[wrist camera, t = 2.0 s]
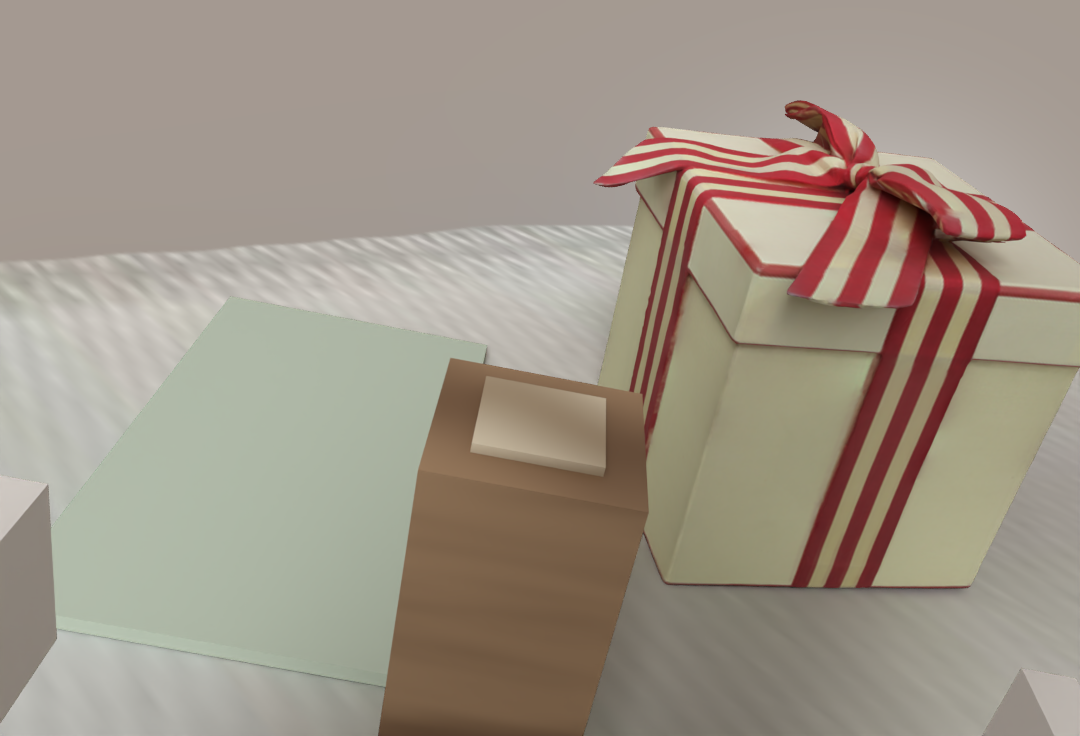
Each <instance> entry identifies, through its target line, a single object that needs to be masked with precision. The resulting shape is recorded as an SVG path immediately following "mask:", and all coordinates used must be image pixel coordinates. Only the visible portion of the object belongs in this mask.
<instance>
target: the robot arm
mask: <svg viewBox="0 0 1080 736" xmlns="http://www.w3.org/2000/svg"><path fill="white" fill-rule="evenodd" d="M56 640H57V630H56V612H55V595H54V577H53V559H52V542H51V524H50V507H49V489H48V484H45V483H40V482H35V481H30V480H24V479H19V478H14V477H8V476H3V475H0V723H1V722H2V720H3V719H4V717H5V716H6V714H7V713H8V711H9V710H10V708H11V707H12V705H13V704H14V702H15V701H16V699H17V698H18V696H19V695H20V693H21V692H22V690H23V689H24V687H25V686H26V684H27V683H28V681H29V680H30V678H31V677H32V675H33V674H34V672H35V671H36V669H37V668H38V666H39V665H40V663H41V662H42V660H43V659H44V657H45V656H46V654H47V653H48V651H49V650H50V648H51V647H52V645H53V644H54V642H55V641H56ZM982 736H1080V685H1079V683H1078V681H1077V679H1076V678H1072V677H1067V676H1062V675H1057V674H1051V673H1046V672H1041V671H1035V670H1030V669H1025V668H1021V670H1020V671H1019V673H1018V675H1017V676H1016V678H1015V680H1014V682H1013V683H1012V685H1011V687H1010V688H1009V690H1008V692H1007V694H1006V695H1005V697H1004V699H1003V700H1002V702H1001V704H1000V706H999V707H998V709H997V711H996V712H995V714H994V716H993V718H992V719H991V721H990V723H989V724H988V726H987V728H986V730H985V731H984V733H983V735H982Z"/></svg>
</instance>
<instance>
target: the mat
mask: <svg viewBox="0 0 1080 736" xmlns="http://www.w3.org/2000/svg"><path fill="white" fill-rule="evenodd" d="M486 349H487V345H483V344H478V343H473V342H468V341H462V340H457V339H452V338H447V337H441V336H436V335H431V334H426V333H420V332H415V331H410V330H405V329H399V328H394V327H389V326H384V325H378V324H373V323H368V322H363V321H357V320H352V319H347V318H342V317H336V316H331V315H326V314H321V313H315V312H310V311H305V310H300V309H294V308H289V307H284V306H279V305H273V304H268V303H263V302H258V301H252V300H247V299H242V298H237V297H231V296H230V297H229V299H228V300H227V301H226V303H225V304H224V305H223V306H222V308H221V309H220V310H219V312H218V313H217V314H216V315H215V317H214V318H213V319H212V321H211V322H210V323H209V324H208V326H207V327H206V328H205V330H204V331H203V332H202V333H201V335H200V336H199V337H198V339H197V340H196V341H195V343H194V344H193V345H192V346H191V348H190V349H189V350H188V352H187V353H186V354H185V355H184V357H183V358H182V359H181V361H180V362H179V363H178V364H177V366H176V367H175V368H174V370H173V371H172V372H171V373H170V375H169V376H168V377H167V379H166V380H165V381H164V382H163V384H162V385H161V386H160V388H159V389H158V390H157V392H156V393H155V394H154V395H153V397H152V398H151V399H150V401H149V402H148V403H147V404H146V406H145V407H144V408H143V410H142V411H141V412H140V413H139V415H138V416H137V417H136V419H135V420H134V421H133V422H132V424H131V425H130V426H129V428H128V429H127V430H126V431H125V433H124V434H123V435H122V437H121V438H120V439H119V441H118V442H117V443H116V444H115V446H114V447H113V448H112V450H111V451H110V452H109V453H108V455H107V456H106V457H105V459H104V460H103V461H102V462H101V464H100V465H99V466H98V468H97V469H96V470H95V471H94V473H93V474H92V475H91V477H90V478H89V479H88V480H87V482H86V483H85V484H84V486H83V487H82V488H81V490H80V491H79V492H78V493H77V495H76V496H75V497H74V499H73V500H72V501H71V502H70V504H69V505H68V506H67V508H66V509H65V510H64V511H63V513H62V514H61V515H60V517H59V518H58V519H57V520H56V522H55V523H54V524H53V526H52V527H51V542H52V559H53V577H54V595H55V612H56V629H61V630H67V631H73V632H78V633H84V634H89V635H95V636H101V637H106V638H112V639H118V640H123V641H129V642H134V643H140V644H146V645H151V646H157V647H163V648H168V649H174V650H180V651H185V652H191V653H196V654H202V655H208V656H213V657H219V658H225V659H230V660H236V661H241V662H247V663H253V664H258V665H264V666H270V667H275V668H281V669H287V670H292V671H298V672H303V673H309V674H315V675H320V676H326V677H332V678H337V679H343V680H348V681H354V682H360V683H365V684H371V685H377V686H382V687H386V680H387V673H388V667H389V660H390V653H391V647H392V640H393V633H394V627H395V620H396V613H397V607H398V600H399V593H400V587H401V580H402V573H403V567H404V560H405V553H406V547H407V540H408V533H409V527H410V520H411V513H412V507H413V500H414V493H415V486H416V480H417V473H418V468H419V465H420V461H421V458H422V454H423V451H424V447H425V444H426V440H427V437H428V434H429V430H430V427H431V423H432V420H433V416H434V413H435V409H436V406H437V402H438V399H439V396H440V392H441V389H442V385H443V382H444V378H445V375H446V371H447V368H448V364H449V361H450V358H455V359H460V360H465V361H471V362H476V363H481V364H483V363H484V359H485V354H486Z"/></svg>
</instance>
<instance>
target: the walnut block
mask: <svg viewBox="0 0 1080 736" xmlns="http://www.w3.org/2000/svg"><path fill="white" fill-rule="evenodd" d="M648 514H649V506H648V488H647V470H646V452H645V433H644V415H643V397H642V394H640V393H635V392H629V391H624V390H619V389H613V388H608V387H603V386H598V385H592V384H587V383H582V382H576V381H571V380H566V379H561V378H555V377H550V376H545V375H539V374H534V373H529V372H524V371H518V370H513V369H508V368H502V367H497V366H492V365H487V364H481V363H476V362H471V361H465V360H460V359H455V358H450V361H449V364H448V368H447V371H446V375H445V378H444V382H443V385H442V389H441V392H440V396H439V399H438V402H437V406H436V409H435V413H434V416H433V420H432V423H431V427H430V430H429V434H428V437H427V440H426V444H425V447H424V451H423V454H422V458H421V461H420V465H419V468H418V473H417V480H416V486H415V493H414V500H413V507H412V513H411V520H410V527H409V533H408V540H407V547H406V553H405V560H404V567H403V573H402V580H401V587H400V593H399V600H398V607H397V613H396V620H395V627H394V633H393V640H392V647H391V653H390V660H389V667H388V673H387V680H386V687H385V693H384V700H383V707H382V713H381V720H380V727H379V733H378V736H583V734H584V731H585V727H586V724H587V721H588V717H589V714H590V710H591V707H592V704H593V700H594V697H595V693H596V690H597V687H598V683H599V680H600V676H601V673H602V670H603V666H604V663H605V660H606V656H607V653H608V649H609V646H610V643H611V639H612V636H613V632H614V629H615V626H616V622H617V619H618V615H619V612H620V609H621V605H622V602H623V598H624V595H625V592H626V588H627V585H628V582H629V578H630V575H631V571H632V568H633V565H634V561H635V558H636V554H637V551H638V548H639V544H640V541H641V537H642V534H643V531H644V527H645V524H646V520H647V517H648Z"/></svg>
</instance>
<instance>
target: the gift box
mask: <svg viewBox="0 0 1080 736" xmlns="http://www.w3.org/2000/svg"><path fill="white" fill-rule="evenodd" d="M785 111H786V113H788V114H785V115H786V116H787V117H789V118H790V119H796V120H798V121H799V122H801V123H802V124H804V125H806V126H807V127H809V128H811V129H812V130H814V131H816V132H818V135H817V137H816V139H815V140H814V142H810V141H806V140H802V139H797V138H792V139H790V138H789V139H770V138H754V137H744V136H734V135H726V134H717V133H708V132H699V131H690V130H681V129H673V128H665V127H651V128H649V130H648V133H647V137H646V140H644V141H642V142H641V143H639V144H638V145H637V146H635V147H634V148H632V149H631V150H629V151H628V152H627V153H626V154H625V155H624V156H623V157H622V158H621V159H620V160H619V161H618V162H617V163H615V165H614V166H613V167H612V168H610V169H609V170H608V171H607V173H605V174H604V175H603V176H601V177H600V178H598V179H597V180H596V181H594V184H596V185H597V184H598V185H599V186H604V187H617V186H622V185H625V184H627V183H630V182H633V181H636V184H635V187H636V191H637V192H638V194H639V195H640V201H639V206H638V210H637V214H636V219H635V223H634V227H633V232H632V236H631V241H630V245H629V249H628V254H627V258H626V262H625V267H624V271H623V276H622V281H621V285H620V290H619V294H618V299H617V303H616V307H615V311H614V316H613V320H612V325H611V330H610V334H609V339H608V343H607V346H606V350H605V356H604V361H603V365H602V369H601V373H600V377H599V382H598V386H603V387H608V388H613V389H619V390H624V391H629V392H635V393H640V394H642V397H643V415H644V433H645V452H646V470H647V488H648V506H649V514H648V517H647V520H646V524H645V527H644V531H643V532H644V535H645V537H646V540H647V542H648V545H649V548H650V550H651V553H652V555H653V558H654V560H655V563H656V566H657V568H658V571H659V573H660V575H661V578H662V580H663V582H664V583H666V584H668V585H740V586H787V587H825V588H848V587H854V588H862V587H865V588H869V587H881V588H968V587H970V586H971V584H972V582H973V581H974V579H975V577H976V574H977V572H978V570H979V568H980V565H981V563H982V561H983V559H984V557H985V555H986V553H987V551H988V549H989V547H990V545H991V543H992V541H993V539H994V537H995V535H996V533H997V531H998V529H999V527H1000V525H1001V523H1002V521H1003V519H1004V517H1005V515H1006V513H1007V511H1008V509H1009V507H1010V505H1011V503H1012V501H1013V499H1014V497H1015V495H1016V493H1017V491H1018V489H1019V487H1020V485H1021V483H1022V481H1023V479H1024V477H1025V475H1026V473H1027V471H1028V469H1029V467H1030V465H1031V463H1032V461H1033V460H1034V458H1035V455H1036V453H1037V451H1038V449H1039V447H1040V445H1041V443H1042V441H1043V439H1044V437H1045V435H1046V433H1047V431H1048V429H1049V427H1050V425H1051V423H1052V421H1053V419H1054V417H1055V415H1056V413H1057V411H1058V409H1059V407H1060V405H1061V403H1062V401H1063V399H1064V397H1065V395H1066V393H1067V391H1068V389H1069V387H1070V385H1071V383H1072V381H1073V378H1074V376H1075V374H1076V373H1077V371H1078V369H1079V368H1080V264H1079V263H1078V262H1077V261H1075V260H1074V259H1072V258H1071V257H1070V256H1068V255H1067V254H1065V253H1064V252H1062V251H1061V250H1060V249H1059V248H1057V247H1056V246H1055V245H1053V244H1052V243H1050V242H1049V241H1048V240H1046V239H1045V238H1043V237H1042V236H1040V235H1039V234H1038V233H1036V232H1035V231H1034V230H1033V229H1032V228H1030V227H1029V226H1027V225H1026V224H1025V223H1023V222H1022V220H1020V218H1019V217H1018V216H1017V215H1016V214H1015V213H1013V212H1012V211H1010V210H1009V209H1007V208H1005V207H1003V206H1001V205H999V204H997V203H995V202H994V201H992V200H991V199H990V198H989V197H986V196H985V195H983V194H982V193H980V192H979V191H978V190H976V189H975V188H973V187H972V186H971V185H969V184H968V183H966V182H965V181H963V180H962V179H961V178H959V177H958V176H956V175H955V174H954V173H952V172H951V171H949V170H948V169H946V168H945V167H944V166H942V165H941V164H940V163H938V162H937V161H935V160H934V159H932V158H924V157H916V156H907V155H900V154H892V153H883V152H877V150H876V148H875V145H874V144H873V142H872V141H871V139H870V138H869V137H868V135H867V134H866V133H864V132H863V131H862V130H861V129H860V128H858V127H856V126H855V125H853V124H852V123H850V122H849V121H847V120H845V119H843V118H841V117H839V116H837V115H834V114H832V113H830V112H828V111H826V110H824V109H822V108H820V107H819V106H816V105H814V104H812V103H809V102H807V101H794V102H791V103H789V104H787V105H786V106H785Z"/></svg>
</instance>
